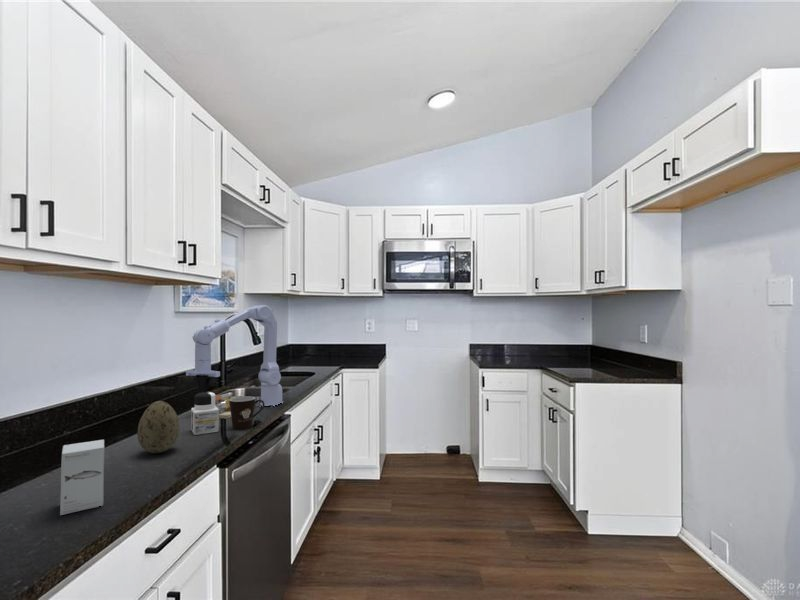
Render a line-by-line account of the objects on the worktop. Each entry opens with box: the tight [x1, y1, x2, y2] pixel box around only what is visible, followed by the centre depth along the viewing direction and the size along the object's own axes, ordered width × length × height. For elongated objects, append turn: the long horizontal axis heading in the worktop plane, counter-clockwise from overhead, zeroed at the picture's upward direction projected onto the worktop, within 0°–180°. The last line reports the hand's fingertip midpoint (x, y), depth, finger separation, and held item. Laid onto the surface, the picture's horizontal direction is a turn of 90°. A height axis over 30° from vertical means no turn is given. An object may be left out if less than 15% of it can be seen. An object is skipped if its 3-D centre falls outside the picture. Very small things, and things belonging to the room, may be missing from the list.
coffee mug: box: [229, 396, 265, 431], centre depth 150 cm, size 12×9×10 cm
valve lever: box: [215, 391, 234, 402], centre depth 166 cm, size 13×2×1 cm, turn 164°
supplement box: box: [59, 439, 105, 516], centre depth 90 cm, size 7×7×13 cm
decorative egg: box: [137, 400, 181, 454], centre depth 123 cm, size 11×11×15 cm
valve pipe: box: [215, 395, 243, 414], centre depth 170 cm, size 15×4×5 cm, turn 164°
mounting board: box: [219, 409, 231, 420], centre depth 170 cm, size 16×13×1 cm
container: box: [190, 391, 220, 436], centre depth 145 cm, size 8×8×13 cm
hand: (202, 394), depth 164 cm, fingers closed
